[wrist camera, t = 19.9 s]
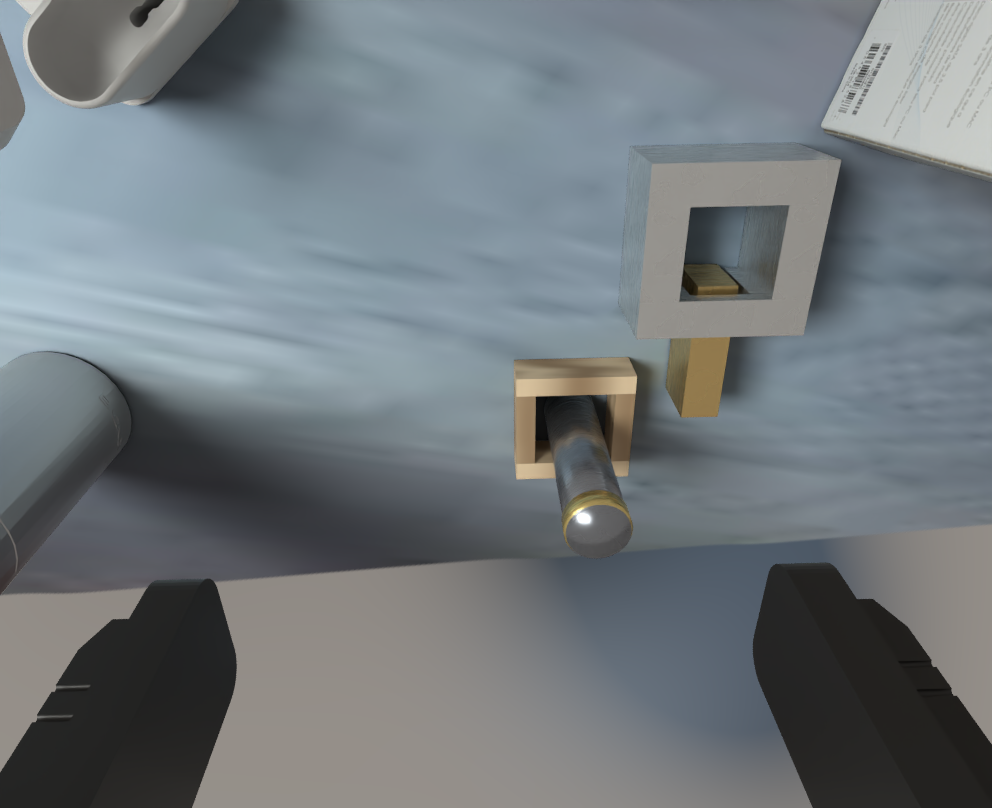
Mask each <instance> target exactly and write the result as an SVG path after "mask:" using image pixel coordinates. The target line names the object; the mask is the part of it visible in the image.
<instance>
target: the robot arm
mask: <svg viewBox="0 0 992 808" xmlns="http://www.w3.org/2000/svg"><path fill="white" fill-rule="evenodd" d="M130 433H131V415H130V410H129V407H128V405H127V403H126V400H125V398H124V396H123V395H122V393H121V392H120V391H119V389H118V388H117V386H116V385H115V384H114V383H113V382H112V381H111V380H110V379H109V378H108V377H107V376H106V375H105V374H103V373H102V372H101V371H99V370H98V369H96V368H95V367H94V366H92V365H90V364H88V363H86V362H84V361H82V360H80V359H78V358H75V357H72V356H68V355H65V354H60V353H54V352H34V353H30V354H26V355H22V356H20V357H18V358H16V359H14V360H12V361H10V362H9V363H8V364H6V365H5V366H3V367H2V368H1V369H0V595H1V594H2V593H3V591H4V590H5V589H6V588H7V587H8V585H9V584H10V583H11V582H12V580H13V579H14V578H15V577H16V576H17V574H18V573H19V572H20V571H21V570H22V568H23V567H24V566H25V565H26V564H27V562H28V561H29V560H30V559H31V558H32V556H33V555H34V554H35V553H36V552H37V550H38V549H39V548H40V547H41V546H42V544H43V543H44V542H45V541H46V540H47V538H48V537H49V536H50V535H51V534H52V532H53V531H54V530H55V529H56V528H57V526H58V525H59V524H60V523H61V522H62V520H63V519H64V518H65V517H66V516H67V514H68V513H69V512H70V511H71V510H72V508H73V507H74V506H75V505H76V504H77V502H78V501H79V500H80V499H81V498H82V496H83V495H84V494H85V493H86V492H87V490H88V489H89V488H90V487H91V486H92V484H93V483H94V482H95V481H96V480H97V479H98V477H99V476H100V475H101V474H102V473H103V471H104V470H105V469H106V468H107V467H108V465H109V464H110V463H111V462H112V461H113V459H114V458H115V457H116V456H117V455H118V453H119V452H120V451H121V450H122V448H123V447H124V446H125V444H126V443H127V441H128V438H129V436H130ZM753 658H754V665H755V670H756V674H757V677H758V681H759V683H760V686H761V688H762V691H763V692H764V695H765V698H766V700H767V702H768V704H769V707H770V709H771V711H772V714H773V716H774V718H775V721H776V723H777V725H778V728H779V730H780V732H781V735H782V737H783V739H784V742H785V744H786V746H787V749H788V751H789V753H790V756H791V758H792V760H793V763H794V765H795V767H796V770H797V772H798V774H799V777H800V779H801V781H802V784H803V786H804V788H805V791H806V793H807V795H808V798H809V800H810V802H811V805H812V807H813V808H992V744H991V743H990V741H989V740H988V739H987V737H986V736H985V734H984V733H983V732H982V730H981V729H980V728H979V726H978V725H977V723H976V722H975V720H974V719H973V718H972V716H971V715H970V714H969V712H968V711H967V709H966V708H965V707H964V705H963V704H962V702H961V701H960V699H959V698H958V697H957V696H953V694H952V692H951V687H950V685H949V684H948V683H947V681H946V680H945V679H944V677H943V676H942V674H941V673H940V672H939V670H938V669H937V667H933V666H932V664H931V659H930V657H929V656H928V655H927V653H926V652H925V651H924V649H923V648H922V646H921V645H920V644H919V642H918V641H917V640H916V638H915V636H914V635H913V634H912V632H911V631H910V630H909V628H908V627H907V626H906V625H905V624H903V623H902V622H901V621H900V620H898V619H897V618H896V617H895V616H893V615H892V614H891V613H890V612H888V611H887V610H886V609H885V608H883V607H882V606H881V605H880V604H878V603H877V602H876V601H875V600H873V599H856V597H855V596H854V594H853V593H852V591H851V590H850V588H849V587H848V585H847V584H846V582H845V580H844V579H843V578H842V576H841V575H840V573H839V572H838V570H837V569H836V568H835V567H834V566H833V565H831V564H830V563H795V564H775V565H773V566H772V567H771V569H770V571H769V574H768V578H767V582H766V587H765V591H764V595H763V600H762V604H761V608H760V612H759V618H758V621H757V626H756V629H755V634H754V639H753ZM236 669H237V664H236V653H235V649H234V645H233V642H232V639H231V635H230V631H229V628H228V624H227V621H226V617H225V614H224V610H223V607H222V603H221V600H220V596H219V593H218V589H217V587H216V585H215V583H214V581H213V580H211V579H180V580H156V581H154V582H152V583H151V584H150V585H149V586H148V588H147V589H146V591H145V592H144V594H143V596H142V598H141V599H140V601H139V603H138V604H137V606H136V608H135V610H134V611H133V613H132V615H131V616H130V618H129V619H117V620H116V619H113V620H111V621H110V622H109V623H108V624H107V625H106V626H105V627H104V628H102V629H101V630H100V631H99V632H98V633H97V634H96V635H95V636H93V637H92V638H91V639H90V640H89V641H88V642H87V643H86V644H84V645H83V646H82V647H81V648H80V649H79V650H78V651H77V653H76V654H75V656H74V658H73V659H72V661H71V662H70V664H69V665H68V667H67V669H66V670H65V672H64V673H63V675H62V677H61V678H60V680H59V681H58V683H57V684H56V691H55V692H51V694H50V695H49V697H48V699H47V700H46V702H45V703H44V705H43V706H42V708H41V709H40V711H39V713H38V714H37V716H38V718H37V721H36V722H33V723H32V724H31V725H30V727H29V728H28V730H27V731H26V733H25V735H24V736H23V738H22V739H21V741H20V742H19V744H18V746H17V747H16V749H15V750H14V752H13V753H12V756H11V757H10V758H9V760H8V761H7V763H6V764H5V766H4V768H3V769H2V771H1V772H0V808H192V806H193V803H194V800H195V798H196V795H197V792H198V789H199V787H200V784H201V781H202V778H203V776H204V773H205V770H206V767H207V765H208V762H209V759H210V756H211V754H212V751H213V748H214V745H215V743H216V740H217V737H218V734H219V731H220V729H221V726H222V723H223V721H224V718H225V715H226V712H227V709H228V707H229V704H230V701H231V698H232V695H233V691H234V687H235V681H236Z"/></svg>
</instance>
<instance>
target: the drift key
mask: <svg viewBox="0 0 992 808" xmlns="http://www.w3.org/2000/svg"><path fill="white" fill-rule="evenodd" d="M681 285H682V286H683V287H684V288H685V290H686V291H687V292H688V294H689V295H730V294H737V292H738V285H737V284H736V283H735V282H734V281H733V280H732V279H731V278H730V277H729V276H728V275H727V274H726V273H725V272H724V271H723V270H722V269H721V268H720V267H719V266H718V265H717V264H687V265H684V266H683V274H682V283H681ZM729 342H730V337H710V338H671V345H670V353H669V362H668V370H667V379H666V389H667V391H668V393H669V395H670V397H671V399H672V401H673V403H674V405H675V406H676V408H677V410H678V412H679V414H680V416H681V417H717V416H718V410H719V404H720V397H721V391H722V385H723V379H724V373H725V366H726V360H727V354H728V348H729Z"/></svg>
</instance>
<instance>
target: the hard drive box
mask: <svg viewBox="0 0 992 808" xmlns="http://www.w3.org/2000/svg"><path fill="white" fill-rule="evenodd" d="M821 127H822V128H823V129H824V132H825V133H827V134H830V135H833V136H835V137H838V138H841V139H844V140H847V141H850V142H854V143H857V144H860V145H863V146H866V147H869V148H872V149H876V150H879V151H882V152H885V153H889V154H892V155H895V156H898V157H902V158H905V159H908V160H911V161H915V162H918V163H922V164H926V165H930V166H934V167H938V168H942V169H946V170H949V171H953V172H957V173H960V174H964V175H967V176H971V177H974V178H978V179H981V180H985V181H988V182H992V0H882V1H881V3H880V5H879V7H878V9H877V11H876V13H875V15H874V17H873V19H872V21H871V23H870V25H869V27H868V29H867V31H866V33H865V36H864V38H863V40H862V41H861V43H860V44H859V46H858V48H857V50H856V52H855V54H854V56H853V59H852V61H851V63H850V65H849V67H848V69H847V71H846V73H845V75H844V77H843V80H842V82H841V84H840V87H839V89H838V91H837V93H836V95H835V97H834V99H833V101H832V103H831V105H830V107H829V109H828V111H827V113H826V115H825V118H824V120H823V122H822V124H821Z"/></svg>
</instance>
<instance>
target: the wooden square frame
mask: <svg viewBox="0 0 992 808" xmlns="http://www.w3.org/2000/svg"><path fill="white" fill-rule="evenodd" d="M636 384H637V375H636V373H635V370H634V368H633V366H632V364H631V362H630V360H629V357H616V358H576V359H535V360H514V456H515V468H516V479H541V478H556V476H555V470H554V465H553V459H552V453H551V448H550V442H549V441H535V416H536V396H568V395H607V406H606V420H605V434H604V439H605V443H606V446H607V449H608V452H609V456H610V459H611V462H612V465H613V469H614V472H615V475H616V476H628V470H629V459H630V448H631V437H632V427H633V416H634V405H635V395H636Z"/></svg>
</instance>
